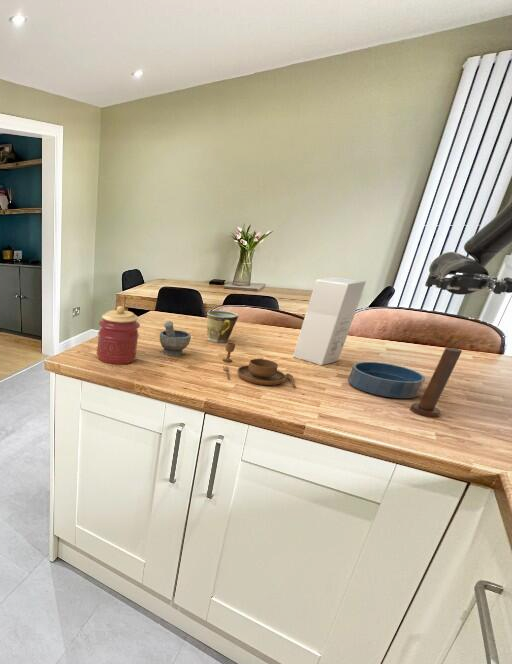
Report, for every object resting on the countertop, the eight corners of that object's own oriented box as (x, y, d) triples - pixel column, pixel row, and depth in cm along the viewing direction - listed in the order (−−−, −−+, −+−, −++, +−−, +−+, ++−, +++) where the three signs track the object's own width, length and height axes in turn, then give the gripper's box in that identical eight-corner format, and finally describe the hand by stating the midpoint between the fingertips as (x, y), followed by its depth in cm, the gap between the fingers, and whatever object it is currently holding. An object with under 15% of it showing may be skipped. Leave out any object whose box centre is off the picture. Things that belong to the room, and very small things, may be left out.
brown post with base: (438, 411, 95) (468, 348, 89) (439, 419, 92) (471, 354, 85) (409, 405, 98) (436, 344, 92) (410, 413, 95) (438, 350, 88)
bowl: (415, 386, 108) (423, 369, 106) (418, 405, 98) (427, 387, 96) (348, 374, 117) (354, 358, 114) (345, 390, 107) (351, 373, 105)
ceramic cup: (198, 335, 153) (203, 310, 149) (226, 336, 152) (232, 310, 147) (210, 346, 141) (215, 319, 137) (240, 347, 140) (246, 319, 136)
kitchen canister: (121, 368, 126) (127, 313, 119) (88, 357, 135) (91, 306, 128) (143, 357, 134) (150, 305, 126) (110, 348, 143) (115, 299, 135)
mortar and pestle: (167, 346, 143) (172, 313, 138) (192, 353, 136) (199, 319, 131) (149, 353, 137) (153, 319, 132) (174, 361, 130) (180, 325, 125)
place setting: (227, 382, 114) (231, 363, 111) (220, 358, 131) (223, 341, 128) (299, 390, 108) (306, 370, 105) (282, 364, 125) (287, 346, 122)
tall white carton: (309, 352, 133) (333, 276, 123) (338, 360, 126) (366, 281, 116) (292, 357, 130) (315, 279, 120) (321, 365, 123) (348, 284, 112)
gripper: (430, 260, 105) (435, 268, 94) (513, 263, 96) (529, 273, 85) (418, 288, 108) (422, 299, 97) (498, 294, 99) (511, 307, 88)
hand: (472, 287), depth 91 cm, fingers open, 8 cm apart
